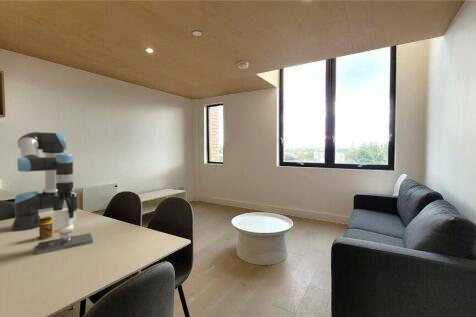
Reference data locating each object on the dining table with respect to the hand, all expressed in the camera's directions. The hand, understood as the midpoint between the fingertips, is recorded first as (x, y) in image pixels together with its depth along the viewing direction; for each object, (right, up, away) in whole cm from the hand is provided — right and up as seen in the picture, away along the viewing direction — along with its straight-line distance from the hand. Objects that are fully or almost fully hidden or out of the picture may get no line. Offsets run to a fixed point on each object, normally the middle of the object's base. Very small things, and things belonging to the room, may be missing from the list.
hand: (65, 223), depth 126 cm
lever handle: (0, -4, 0) cm, 4 cm away
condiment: (-20, -11, +9) cm, 25 cm away
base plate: (0, -12, +1) cm, 12 cm away
